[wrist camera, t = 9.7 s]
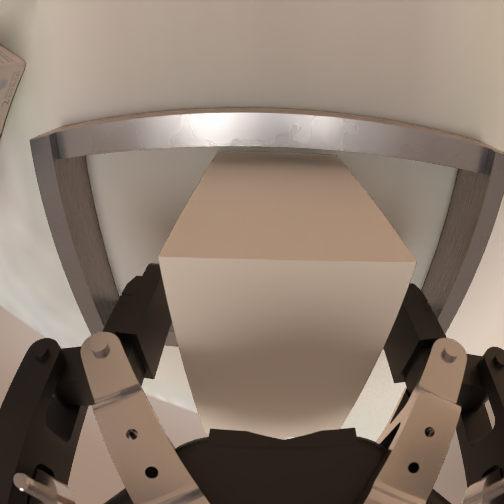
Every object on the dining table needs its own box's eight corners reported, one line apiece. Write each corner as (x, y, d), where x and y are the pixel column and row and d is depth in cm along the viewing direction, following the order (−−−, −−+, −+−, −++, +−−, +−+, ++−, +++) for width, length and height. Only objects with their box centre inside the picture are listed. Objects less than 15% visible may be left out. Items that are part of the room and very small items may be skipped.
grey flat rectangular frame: (481, 141, 11) (512, 157, 9) (422, 322, 17) (435, 350, 15) (61, 126, 11) (29, 139, 9) (109, 314, 18) (95, 342, 16)
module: (337, 155, 12) (418, 262, 5) (317, 299, 16) (337, 434, 10) (216, 151, 12) (155, 256, 5) (224, 297, 17) (203, 433, 10)
